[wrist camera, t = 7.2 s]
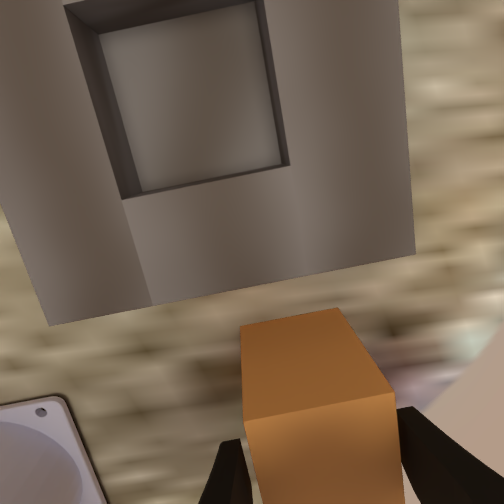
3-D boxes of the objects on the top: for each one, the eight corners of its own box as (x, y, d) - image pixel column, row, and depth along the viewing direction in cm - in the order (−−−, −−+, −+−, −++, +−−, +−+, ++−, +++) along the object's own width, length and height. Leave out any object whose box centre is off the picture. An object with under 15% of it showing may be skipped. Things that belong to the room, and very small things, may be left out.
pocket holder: (85, 293, 15) (49, 326, 12) (-41, -63, 12) (-134, -134, 9) (381, 235, 15) (415, 254, 12) (344, -148, 11) (380, -252, 8)
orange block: (258, 406, 17) (270, 533, 11) (239, 325, 16) (243, 421, 10) (347, 388, 17) (405, 506, 11) (336, 305, 16) (394, 391, 10)
